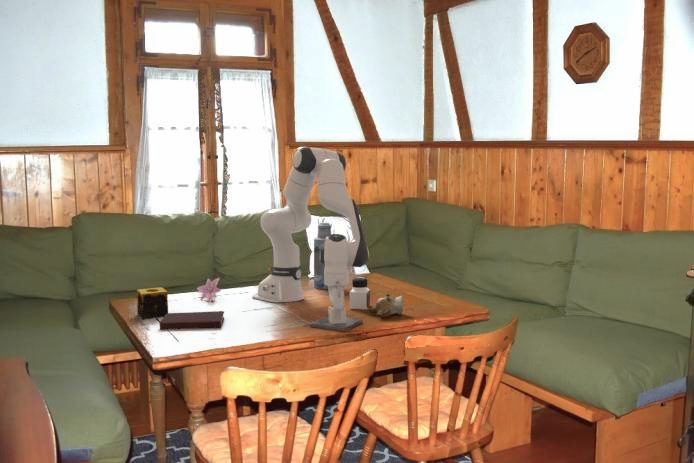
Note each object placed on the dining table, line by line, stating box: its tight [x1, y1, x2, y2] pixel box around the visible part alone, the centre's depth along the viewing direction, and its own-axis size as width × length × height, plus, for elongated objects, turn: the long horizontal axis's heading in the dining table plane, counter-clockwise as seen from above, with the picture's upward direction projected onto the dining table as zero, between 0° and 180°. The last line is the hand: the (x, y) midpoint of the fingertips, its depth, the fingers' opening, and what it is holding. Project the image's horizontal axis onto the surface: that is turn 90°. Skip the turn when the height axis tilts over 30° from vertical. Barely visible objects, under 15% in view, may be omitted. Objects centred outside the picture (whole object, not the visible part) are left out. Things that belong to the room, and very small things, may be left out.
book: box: [159, 310, 225, 331], centre depth 256 cm, size 14×22×4 cm, turn 94°
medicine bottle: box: [349, 277, 371, 311], centre depth 280 cm, size 7×7×12 cm
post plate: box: [309, 315, 363, 333], centre depth 254 cm, size 14×14×5 cm
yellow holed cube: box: [136, 286, 169, 320], centre depth 269 cm, size 10×10×10 cm
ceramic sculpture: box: [364, 293, 405, 318], centre depth 267 cm, size 11×9×15 cm
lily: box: [196, 277, 222, 303], centre depth 297 cm, size 11×11×9 cm
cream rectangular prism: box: [328, 305, 347, 324], centre depth 254 cm, size 5×5×5 cm
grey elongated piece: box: [313, 221, 332, 290], centre depth 319 cm, size 10×10×30 cm
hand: (336, 316), depth 254 cm, fingers open, 8 cm apart
